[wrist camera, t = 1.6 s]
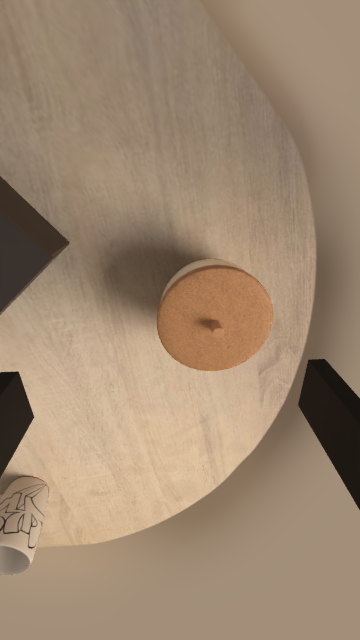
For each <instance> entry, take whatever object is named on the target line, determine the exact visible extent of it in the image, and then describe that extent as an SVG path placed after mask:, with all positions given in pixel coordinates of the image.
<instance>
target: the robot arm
mask: <svg viewBox="0 0 360 640" xmlns="http://www.w3.org/2000/svg"><path fill="white" fill-rule="evenodd" d="M298 405H299V407H300V409H301V411H302V412H303V414H304V416H305V418H306V419H307V421H308V423H309V424H310V426H311V428H312V429H313V431H314V433H315V435H316V436H317V438H318V440H319V441H320V443H321V445H322V447H323V448H324V450H325V452H326V453H327V455H328V457H329V458H330V460H331V462H332V464H333V465H334V467H335V469H336V470H337V472H338V474H339V475H340V477H341V479H342V481H343V482H344V484H345V486H346V487H347V489H348V491H349V492H350V494H351V496H352V498H353V499H354V501H355V503H356V504H357V506H358V508H359V509H360V398H359V397H358V396H357V395H356V394H355V393H354V391H353V390H352V389H351V388H350V387H349V386H348V385H347V384H346V382H345V381H344V380H343V379H342V378H341V377H340V376H339V375H338V373H337V372H336V371H335V370H334V369H333V368H332V367H331V366H330V364H329V363H328V362H327V361H326V360H325V359H316V360H308V364H307V368H306V373H305V377H304V382H303V386H302V390H301V394H300V399H299V404H298ZM33 418H34V415H33V412H32V409H31V406H30V404H29V401H28V398H27V395H26V392H25V389H24V386H23V383H22V380H21V377H20V374H19V372H1V373H0V477H1V476H2V474H3V472H4V470H5V469H6V467H7V465H8V463H9V461H10V460H11V458H12V456H13V454H14V452H15V451H16V449H17V447H18V445H19V443H20V442H21V440H22V438H23V436H24V434H25V433H26V431H27V429H28V427H29V426H30V424H31V422H32V420H33Z"/></svg>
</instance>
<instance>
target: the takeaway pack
mask: <svg viewBox="0 0 360 640" xmlns="http://www.w3.org/2000/svg"><path fill="white" fill-rule="evenodd" d="M68 244H69V242H68V241H67V240H66V239H65V238H64V237H63V236H62V235H61V234H60V233H59V232H58V231H57V230H56V229H55V228H54V227H53V226H52V225H51V224H50V223H48V222H47V221H46V220H45V219H44V218H43V217H42V216H41V215H40V214H39V213H38V212H37V211H36V210H35V209H34V208H33V207H32V206H31V205H30V204H29V203H28V202H27V201H25V200H24V199H23V198H22V197H21V196H20V195H19V194H18V193H17V192H16V191H15V190H14V189H13V188H12V187H11V186H10V185H9V184H8V183H7V182H6V181H5V180H4V179H2V178H1V177H0V315H1V313H2V312H3V311H4V310H5V309H6V308H7V307H8V306H9V305H10V304H11V303H12V302H13V301H14V300H15V299H16V298H17V297H18V296H19V295H20V294H21V293H22V292H23V291H24V290H25V289H26V288H27V287H28V286H29V285H30V283H31V282H32V281H33V280H34V279H35V278H36V277H37V276H38V275H39V274H40V273H41V272H42V271H43V270H44V269H45V268H46V267H47V266H48V265H49V264H50V263H51V262H52V261H53V260H54V259H55V258H56V257H57V256H58V255H59V253H60V252H61V251H62V250H63V249H64V248H65V247H66V246H67V245H68Z"/></svg>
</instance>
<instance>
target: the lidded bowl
mask: <svg viewBox="0 0 360 640" xmlns="http://www.w3.org/2000/svg"><path fill="white" fill-rule="evenodd" d="M272 321H273V310H272V304H271V301H270V298H269V296H268V294H267V292H266V290H265V289H264V287H263V286H262V285H261V284H260V283H259V281H258V280H256V279H255V278H254V277H253V276H252V275H250V274H249V273H247V272H246V271H245V270H244V269H242V268H241V267H239V266H237V265H235V264H233V263H230V262H228V261H224V260H219V259H204V260H199V261H196V262H193V263H191V264H188V265H186V266H185V267H183V268H182V269H180V270H179V271H178V272H177V273H176V274H175V275H174V276H173V277H172V278H171V280H170V281H169V282H168V284H167V286H166V287H165V289H164V292H163V295H162V297H161V301H160V306H159V309H158V315H157V329H158V335H159V338H160V340H161V343H162V344H163V346H164V348H165V349H166V351H167V352H168V353H169V354H170V355H171V356H172V357H173V358H174V359H175V360H177V361H178V362H180V363H181V364H183V365H186V366H188V367H190V368H194V369H197V370H204V371H217V370H224V369H228V368H232V367H234V366H237V365H239V364H241V363H243V362H245V361H246V360H247V359H249V358H250V357H252V356H253V355H254V354H255V353H256V352H257V351H258V350H259V349H260V348H261V346H262V345H263V344H264V342H265V340H266V339H267V337H268V335H269V332H270V330H271V326H272Z"/></svg>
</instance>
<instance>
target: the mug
mask: <svg viewBox="0 0 360 640" xmlns="http://www.w3.org/2000/svg"><path fill="white" fill-rule="evenodd" d="M48 497H49V487H48V485H47V484H46V483H45V482H44V481H42V480H40V479H38V478H34V477H21V478H18V479H16V480H14V481H13V482H12V483H11V484H10V486H9V487H8V488H7V490H6V491H5V492H4V494H3V495H2V497H1V498H0V575H13V574H18V573H21V572H23V571H25V570H26V569H27V568H28V567H29V566H30V564H31V562H32V560H33V557H34V553H35V550H36V547H37V543H38V540H39V536H40V533H41V529H42V526H43V522H44V517H45V512H46V507H47V502H48Z"/></svg>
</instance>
